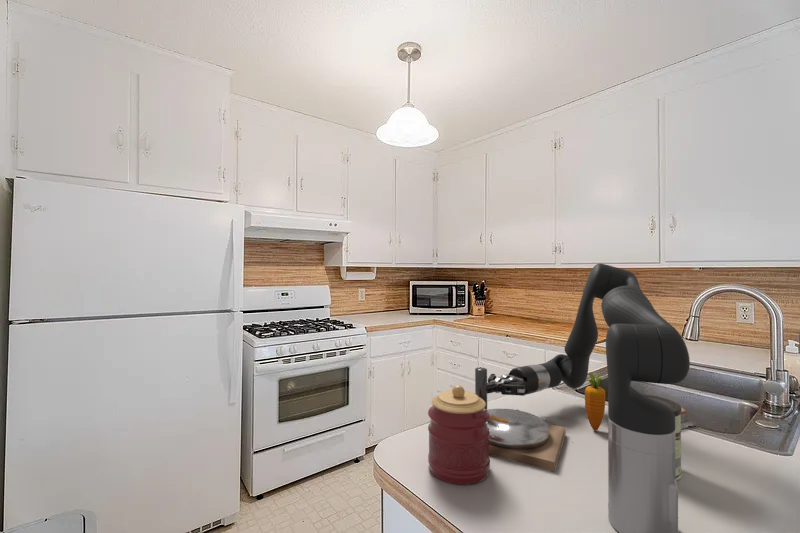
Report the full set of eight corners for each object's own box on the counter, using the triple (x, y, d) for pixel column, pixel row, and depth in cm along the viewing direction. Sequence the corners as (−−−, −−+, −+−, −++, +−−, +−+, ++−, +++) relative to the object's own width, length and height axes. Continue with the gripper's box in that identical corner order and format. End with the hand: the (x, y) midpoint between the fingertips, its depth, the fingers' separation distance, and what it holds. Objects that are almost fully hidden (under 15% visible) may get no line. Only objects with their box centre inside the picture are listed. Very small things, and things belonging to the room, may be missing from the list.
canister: (415, 466, 79) (415, 384, 79) (455, 447, 87) (455, 373, 87) (462, 495, 69) (461, 401, 69) (502, 470, 77) (502, 386, 77)
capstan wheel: (557, 427, 92) (557, 371, 92) (536, 457, 78) (536, 391, 78) (489, 410, 103) (489, 360, 103) (460, 434, 89) (459, 376, 89)
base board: (565, 435, 93) (565, 426, 93) (554, 471, 76) (554, 460, 76) (477, 416, 104) (477, 408, 104) (451, 445, 88) (451, 435, 88)
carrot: (609, 436, 92) (608, 376, 92) (587, 434, 93) (587, 375, 93) (602, 427, 97) (602, 371, 97) (582, 426, 98) (581, 370, 98)
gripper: (512, 360, 111) (466, 369, 102) (548, 372, 99) (499, 382, 91) (512, 385, 111) (466, 395, 103) (548, 399, 99) (500, 412, 91)
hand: (482, 389), depth 97 cm, fingers closed
